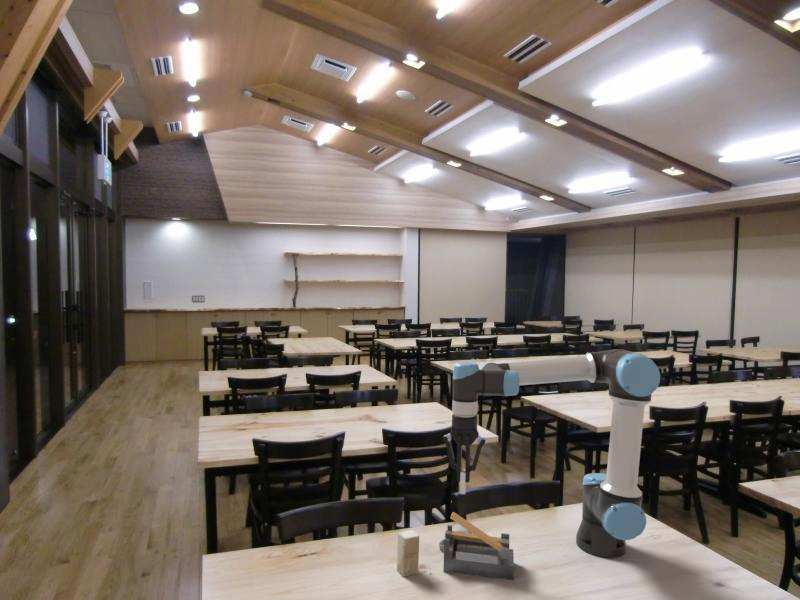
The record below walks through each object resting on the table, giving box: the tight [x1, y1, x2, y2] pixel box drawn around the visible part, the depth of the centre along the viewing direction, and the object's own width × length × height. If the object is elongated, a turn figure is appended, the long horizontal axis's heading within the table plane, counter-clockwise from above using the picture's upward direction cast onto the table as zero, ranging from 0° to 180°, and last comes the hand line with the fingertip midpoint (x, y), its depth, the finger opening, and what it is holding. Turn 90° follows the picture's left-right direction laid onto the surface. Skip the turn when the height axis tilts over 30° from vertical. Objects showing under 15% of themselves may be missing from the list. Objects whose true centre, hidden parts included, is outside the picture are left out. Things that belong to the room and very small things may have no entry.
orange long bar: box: [444, 529, 508, 544], centre depth 159 cm, size 19×2×2 cm, turn 79°
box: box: [396, 529, 420, 577], centre depth 153 cm, size 5×4×11 cm
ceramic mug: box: [438, 523, 473, 551], centre depth 167 cm, size 11×8×8 cm
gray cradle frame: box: [443, 532, 515, 581], centre depth 156 cm, size 20×10×9 cm, turn 79°
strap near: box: [450, 511, 508, 552], centre depth 153 cm, size 19×2×2 cm, turn 78°
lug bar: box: [443, 524, 455, 559], centre depth 158 cm, size 2×10×5 cm, turn 169°
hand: (462, 492), depth 158 cm, fingers closed
